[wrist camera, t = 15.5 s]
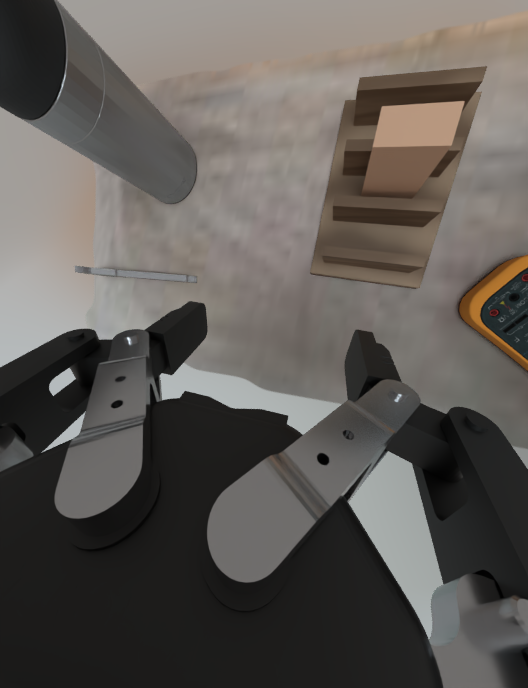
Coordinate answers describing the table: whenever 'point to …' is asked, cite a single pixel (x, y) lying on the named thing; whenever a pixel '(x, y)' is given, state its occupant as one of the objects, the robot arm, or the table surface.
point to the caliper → (135, 274)
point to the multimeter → (502, 308)
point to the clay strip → (409, 147)
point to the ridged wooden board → (379, 212)
